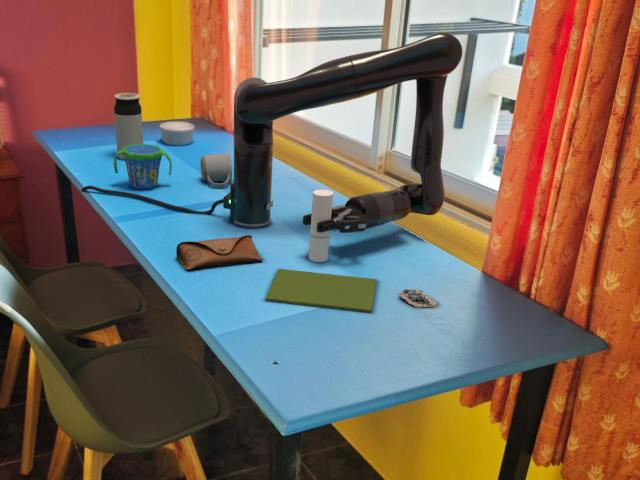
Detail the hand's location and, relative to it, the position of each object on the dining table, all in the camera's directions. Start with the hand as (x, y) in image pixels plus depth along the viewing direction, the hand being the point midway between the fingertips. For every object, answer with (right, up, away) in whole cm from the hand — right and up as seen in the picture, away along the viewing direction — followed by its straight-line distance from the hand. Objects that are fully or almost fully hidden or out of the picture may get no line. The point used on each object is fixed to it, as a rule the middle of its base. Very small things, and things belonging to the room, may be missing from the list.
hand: (311, 224), depth 167 cm
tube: (+2, -7, +6) cm, 9 cm away
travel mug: (-50, +35, +69) cm, 92 cm away
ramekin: (-38, +44, +85) cm, 103 cm away
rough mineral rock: (+21, -18, -11) cm, 30 cm away
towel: (+2, -16, -9) cm, 18 cm away
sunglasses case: (-20, -7, +4) cm, 21 cm away
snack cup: (-43, +20, +46) cm, 66 cm away
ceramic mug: (-23, +22, +50) cm, 59 cm away
